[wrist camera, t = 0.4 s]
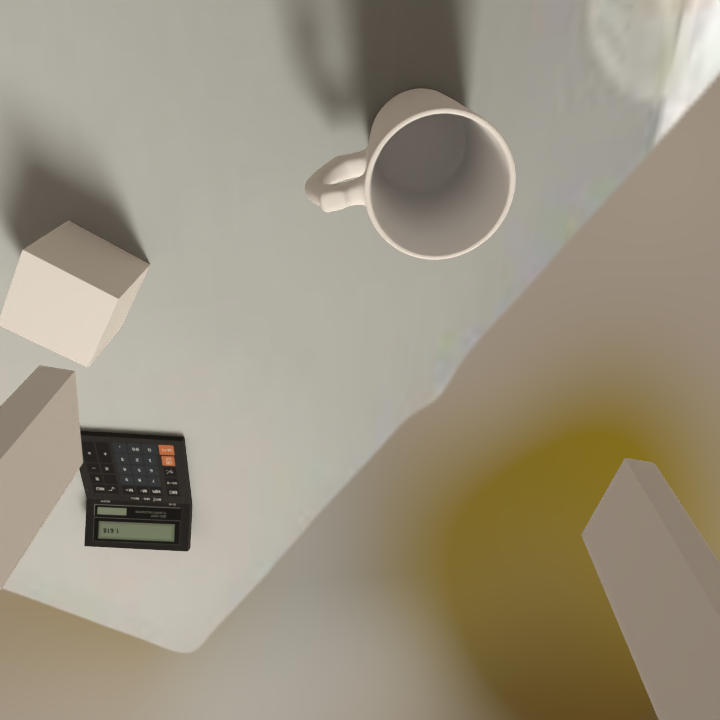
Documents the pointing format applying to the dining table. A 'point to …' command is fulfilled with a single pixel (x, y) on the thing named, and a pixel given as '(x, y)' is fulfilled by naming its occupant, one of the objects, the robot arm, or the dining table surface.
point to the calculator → (136, 491)
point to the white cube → (72, 292)
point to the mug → (424, 176)
